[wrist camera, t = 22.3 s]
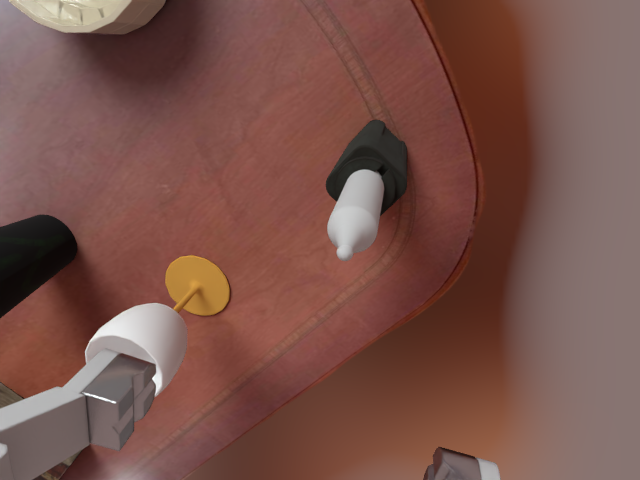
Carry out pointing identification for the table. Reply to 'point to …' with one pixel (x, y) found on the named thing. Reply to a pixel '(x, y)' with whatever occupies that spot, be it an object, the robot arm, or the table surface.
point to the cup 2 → (165, 319)
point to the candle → (365, 187)
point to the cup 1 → (31, 256)
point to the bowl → (90, 14)
